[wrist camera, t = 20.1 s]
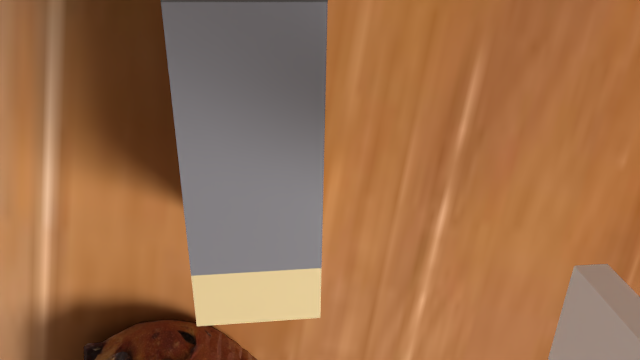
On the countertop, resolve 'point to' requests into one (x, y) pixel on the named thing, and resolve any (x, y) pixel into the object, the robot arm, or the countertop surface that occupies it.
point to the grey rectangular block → (250, 153)
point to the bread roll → (167, 343)
